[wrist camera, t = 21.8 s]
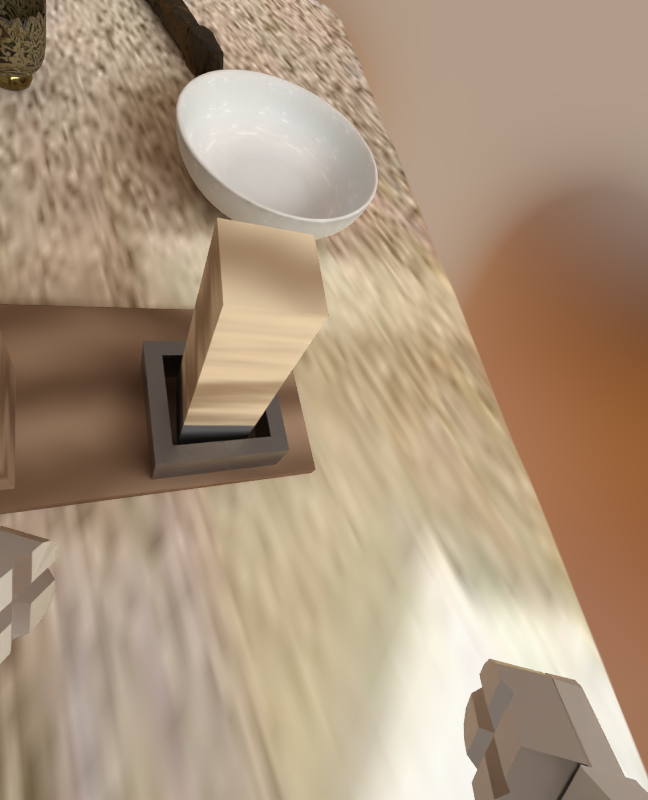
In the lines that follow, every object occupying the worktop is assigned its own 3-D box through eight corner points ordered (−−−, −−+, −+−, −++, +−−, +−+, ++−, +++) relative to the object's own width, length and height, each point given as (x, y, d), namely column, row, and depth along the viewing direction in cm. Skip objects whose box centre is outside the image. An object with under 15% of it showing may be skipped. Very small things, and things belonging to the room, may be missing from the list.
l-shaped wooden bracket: (311, 472, 39) (528, 292, 19) (-82, 525, 28) (-618, 216, 8) (276, 318, 45) (414, 47, 24) (-63, 310, 34) (-343, -207, 13)
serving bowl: (349, 162, 60) (373, 113, 54) (353, 290, 51) (384, 246, 45) (183, 100, 53) (191, 36, 48) (152, 235, 44) (158, 175, 38)
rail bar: (242, 444, 37) (328, 315, 22) (176, 445, 35) (223, 304, 20) (237, 388, 39) (313, 235, 24) (175, 385, 37) (217, 217, 22)
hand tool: (131, -10, 59) (132, -55, 55) (162, -5, 61) (165, -49, 57) (194, 98, 55) (200, 58, 51) (225, 99, 57) (233, 60, 53)
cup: (72, 91, 48) (65, 2, 41) (15, 118, 43) (-2, 26, 37) (7, 45, 47) (-10, -52, 40) (-57, 69, 43) (-88, -35, 36)
